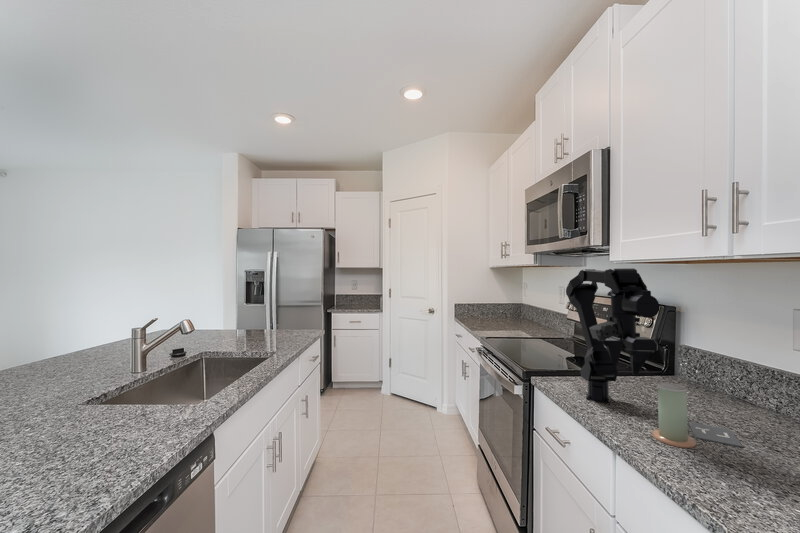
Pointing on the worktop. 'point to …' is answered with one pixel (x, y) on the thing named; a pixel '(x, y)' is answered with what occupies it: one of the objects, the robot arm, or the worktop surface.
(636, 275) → the robot arm
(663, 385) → the green tumbler
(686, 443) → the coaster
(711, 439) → the tile
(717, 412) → the worktop surface
